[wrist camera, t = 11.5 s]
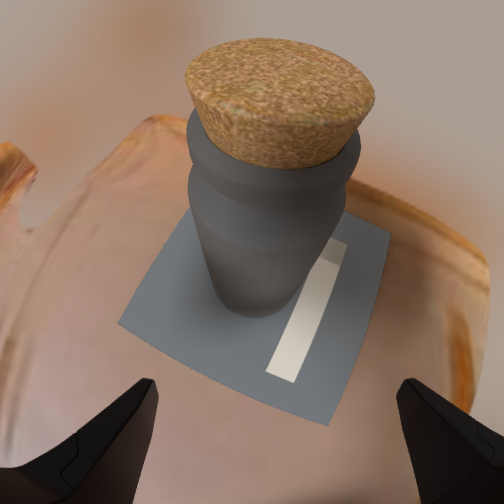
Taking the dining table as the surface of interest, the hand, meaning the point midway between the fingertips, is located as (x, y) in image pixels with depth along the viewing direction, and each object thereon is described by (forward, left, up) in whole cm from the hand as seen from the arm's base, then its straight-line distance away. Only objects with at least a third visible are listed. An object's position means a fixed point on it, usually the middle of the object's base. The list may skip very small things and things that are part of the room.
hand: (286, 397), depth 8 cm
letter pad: (+3, -7, -9) cm, 12 cm away
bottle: (+4, -6, -9) cm, 11 cm away
